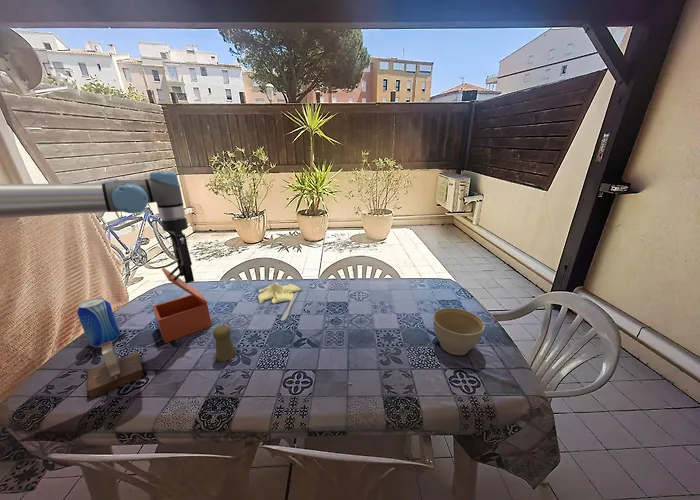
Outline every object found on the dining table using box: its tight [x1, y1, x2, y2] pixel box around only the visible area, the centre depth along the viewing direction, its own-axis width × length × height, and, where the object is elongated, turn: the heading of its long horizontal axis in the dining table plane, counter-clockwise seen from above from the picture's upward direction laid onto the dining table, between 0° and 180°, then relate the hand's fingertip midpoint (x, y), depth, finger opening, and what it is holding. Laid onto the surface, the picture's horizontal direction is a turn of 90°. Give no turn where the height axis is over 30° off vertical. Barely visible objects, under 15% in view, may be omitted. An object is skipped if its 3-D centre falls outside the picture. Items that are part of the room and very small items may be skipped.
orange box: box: [152, 294, 212, 344], centre depth 103 cm, size 16×13×10 cm
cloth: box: [257, 282, 301, 304], centre depth 129 cm, size 22×19×6 cm
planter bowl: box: [432, 307, 485, 356], centre depth 93 cm, size 16×16×11 cm
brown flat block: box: [87, 351, 145, 399], centre depth 81 cm, size 12×10×3 cm
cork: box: [212, 324, 237, 362], centre depth 88 cm, size 6×6×11 cm
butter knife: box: [280, 291, 299, 322], centre depth 121 cm, size 1×27×3 cm
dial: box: [101, 341, 120, 377], centre depth 79 cm, size 6×2×8 cm, turn 42°
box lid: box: [161, 261, 209, 305], centre depth 102 cm, size 16×13×7 cm
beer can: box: [76, 297, 121, 348], centre depth 94 cm, size 8×8×16 cm
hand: (187, 278), depth 101 cm, fingers closed on box lid, 7 cm apart
